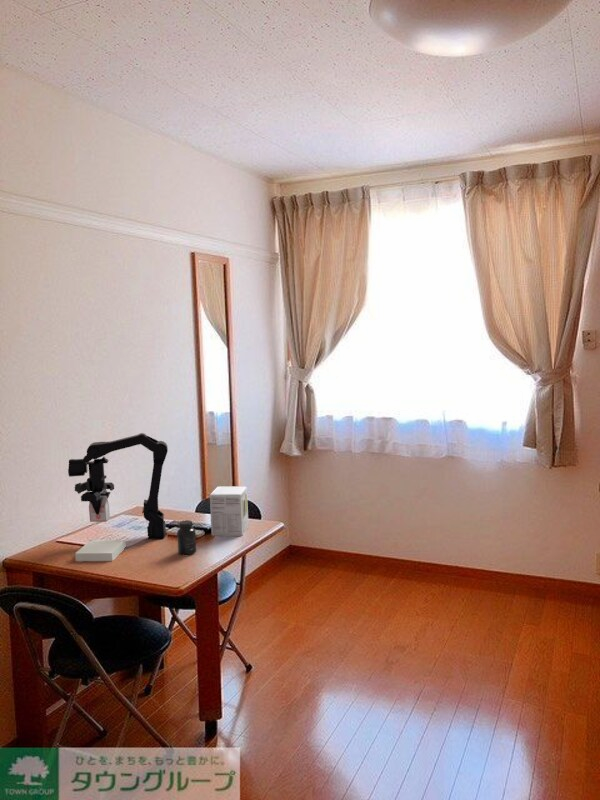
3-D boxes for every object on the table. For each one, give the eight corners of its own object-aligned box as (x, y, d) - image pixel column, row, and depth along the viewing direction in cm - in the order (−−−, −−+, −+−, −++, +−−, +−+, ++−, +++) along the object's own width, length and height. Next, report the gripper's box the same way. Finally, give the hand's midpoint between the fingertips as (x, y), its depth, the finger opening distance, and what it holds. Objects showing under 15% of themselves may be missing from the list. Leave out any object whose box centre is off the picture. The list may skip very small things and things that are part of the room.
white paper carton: (93, 518, 243) (92, 494, 242) (110, 518, 243) (108, 494, 242) (90, 521, 240) (88, 497, 238) (106, 521, 239) (104, 497, 238)
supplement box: (242, 536, 244) (240, 494, 243) (211, 536, 246) (209, 494, 244) (249, 525, 258) (247, 486, 256) (219, 525, 259) (217, 486, 257)
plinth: (125, 547, 236) (125, 540, 235) (112, 561, 222) (112, 553, 221) (91, 547, 237) (90, 540, 236) (75, 561, 223) (75, 553, 222)
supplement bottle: (174, 552, 228) (173, 522, 227) (190, 548, 233) (189, 518, 231) (183, 557, 223) (182, 526, 222) (199, 552, 227) (198, 522, 226)
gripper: (87, 469, 249) (90, 506, 251) (66, 480, 230) (69, 520, 232) (113, 469, 248) (116, 505, 250) (94, 480, 230) (97, 519, 231)
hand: (99, 512), depth 241 cm, fingers closed on white paper carton, 4 cm apart
